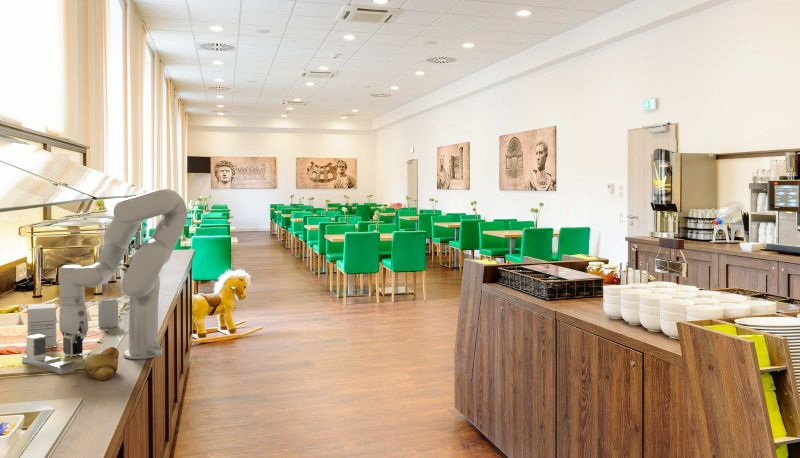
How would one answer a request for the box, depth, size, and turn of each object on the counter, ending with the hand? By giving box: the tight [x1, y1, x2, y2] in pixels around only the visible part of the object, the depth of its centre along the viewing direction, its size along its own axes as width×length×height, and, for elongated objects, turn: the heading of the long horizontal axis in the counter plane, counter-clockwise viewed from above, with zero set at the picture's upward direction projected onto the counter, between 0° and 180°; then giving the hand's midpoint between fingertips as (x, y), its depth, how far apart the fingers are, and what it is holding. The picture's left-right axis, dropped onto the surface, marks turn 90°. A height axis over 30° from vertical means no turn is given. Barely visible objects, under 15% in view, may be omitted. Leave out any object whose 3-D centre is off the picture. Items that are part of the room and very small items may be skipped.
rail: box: [22, 334, 76, 375], centre depth 191 cm, size 22×4×9 cm, turn 61°
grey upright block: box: [97, 297, 119, 330], centre depth 244 cm, size 8×8×12 cm
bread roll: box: [84, 346, 120, 381], centre depth 184 cm, size 13×10×8 cm
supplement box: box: [27, 302, 57, 349], centre depth 214 cm, size 9×9×15 cm
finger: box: [62, 334, 84, 358], centre depth 203 cm, size 5×4×7 cm
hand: (73, 351), depth 203 cm, fingers closed on finger, 4 cm apart
